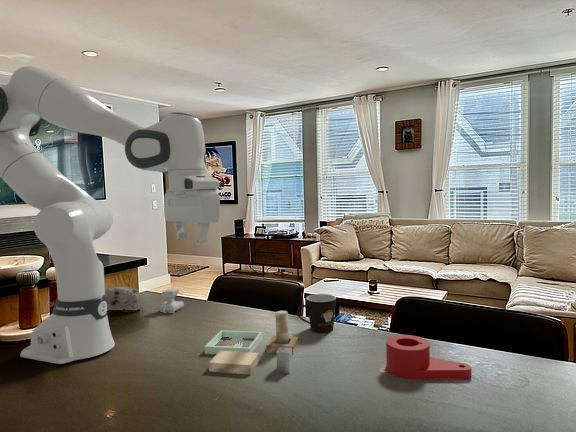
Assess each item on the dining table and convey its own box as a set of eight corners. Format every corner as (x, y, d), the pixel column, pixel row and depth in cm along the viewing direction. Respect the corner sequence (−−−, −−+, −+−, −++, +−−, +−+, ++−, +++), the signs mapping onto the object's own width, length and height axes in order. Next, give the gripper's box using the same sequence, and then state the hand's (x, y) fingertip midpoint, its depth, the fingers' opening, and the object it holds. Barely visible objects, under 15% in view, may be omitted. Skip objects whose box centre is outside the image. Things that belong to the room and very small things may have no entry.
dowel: (275, 352, 108) (274, 314, 107) (278, 347, 111) (276, 310, 110) (287, 353, 107) (286, 314, 106) (290, 348, 110) (288, 311, 109)
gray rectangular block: (277, 373, 95) (276, 352, 95) (279, 367, 98) (279, 347, 98) (289, 374, 95) (289, 352, 94) (292, 368, 98) (291, 347, 97)
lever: (385, 377, 92) (384, 348, 92) (388, 360, 101) (387, 333, 101) (474, 387, 87) (474, 355, 86) (469, 368, 96) (469, 339, 95)
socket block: (266, 355, 106) (266, 345, 106) (272, 344, 113) (272, 335, 113) (293, 356, 105) (293, 346, 105) (298, 345, 112) (298, 336, 111)
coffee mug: (334, 326, 127) (333, 293, 126) (338, 336, 118) (338, 301, 117) (296, 327, 126) (295, 294, 126) (297, 337, 118) (296, 302, 117)
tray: (205, 355, 107) (204, 346, 106) (221, 339, 118) (221, 330, 118) (250, 358, 104) (250, 348, 104) (262, 340, 116) (262, 331, 116)
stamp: (169, 309, 149) (168, 286, 149) (186, 310, 147) (185, 287, 147) (155, 317, 141) (153, 292, 140) (172, 318, 139) (171, 293, 138)
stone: (98, 312, 144) (103, 283, 144) (109, 308, 150) (114, 281, 149) (131, 322, 141) (137, 293, 141) (141, 318, 147) (146, 290, 146)
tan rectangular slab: (209, 375, 97) (208, 362, 96) (220, 362, 103) (220, 350, 103) (250, 378, 94) (250, 365, 94) (259, 365, 101) (259, 353, 101)
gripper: (155, 184, 104) (159, 240, 105) (198, 181, 89) (202, 245, 90) (178, 184, 108) (182, 237, 109) (223, 180, 93) (226, 242, 94)
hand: (191, 241), depth 100 cm, fingers open, 8 cm apart
